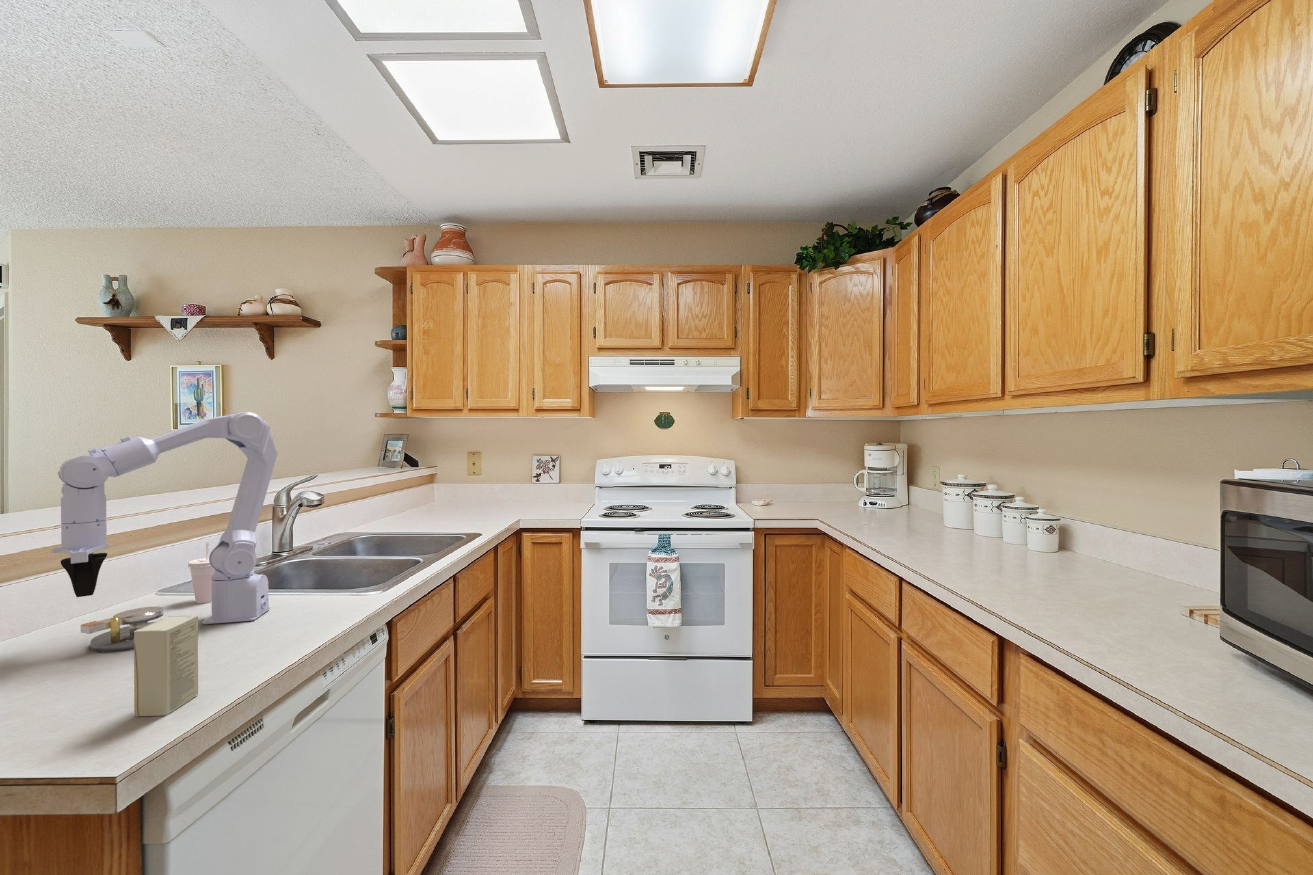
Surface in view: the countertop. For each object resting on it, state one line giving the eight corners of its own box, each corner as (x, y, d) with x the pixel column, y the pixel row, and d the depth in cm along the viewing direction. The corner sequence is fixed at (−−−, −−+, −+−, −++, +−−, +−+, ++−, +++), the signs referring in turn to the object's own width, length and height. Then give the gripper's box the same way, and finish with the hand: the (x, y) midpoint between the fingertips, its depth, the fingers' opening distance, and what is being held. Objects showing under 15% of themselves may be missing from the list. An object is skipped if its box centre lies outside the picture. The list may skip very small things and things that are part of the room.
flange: (147, 611, 109) (147, 604, 109) (172, 614, 107) (172, 607, 107) (72, 631, 98) (72, 623, 98) (98, 635, 96) (98, 627, 96)
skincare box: (168, 696, 81) (168, 615, 81) (200, 695, 82) (199, 614, 82) (132, 718, 75) (131, 630, 75) (166, 716, 75) (165, 629, 75)
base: (198, 624, 112) (197, 596, 112) (158, 648, 100) (157, 617, 100) (121, 630, 109) (121, 601, 109) (70, 655, 96) (70, 623, 96)
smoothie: (203, 606, 124) (202, 545, 124) (180, 604, 125) (180, 544, 125) (230, 597, 130) (230, 539, 130) (208, 596, 132) (208, 538, 132)
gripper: (58, 519, 102) (59, 591, 102) (44, 529, 91) (45, 609, 91) (111, 515, 107) (112, 584, 107) (103, 524, 96) (104, 601, 96)
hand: (85, 595), depth 99 cm, fingers closed
